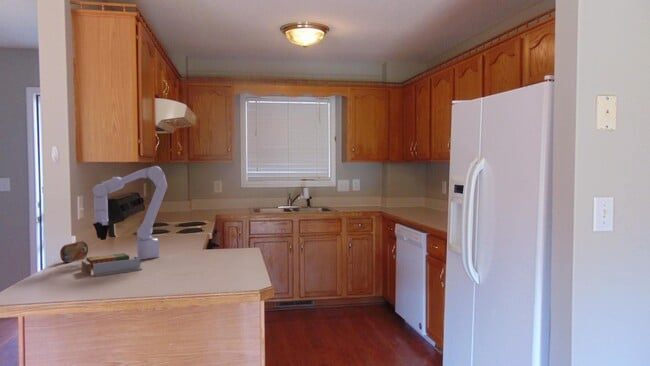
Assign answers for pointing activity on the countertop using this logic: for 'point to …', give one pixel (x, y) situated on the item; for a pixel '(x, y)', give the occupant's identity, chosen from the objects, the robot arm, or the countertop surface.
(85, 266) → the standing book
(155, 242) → the robot arm
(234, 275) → the countertop surface
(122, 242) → the countertop surface
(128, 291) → the countertop surface
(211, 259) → the countertop surface
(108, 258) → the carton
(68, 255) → the tin
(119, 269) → the grey long block
